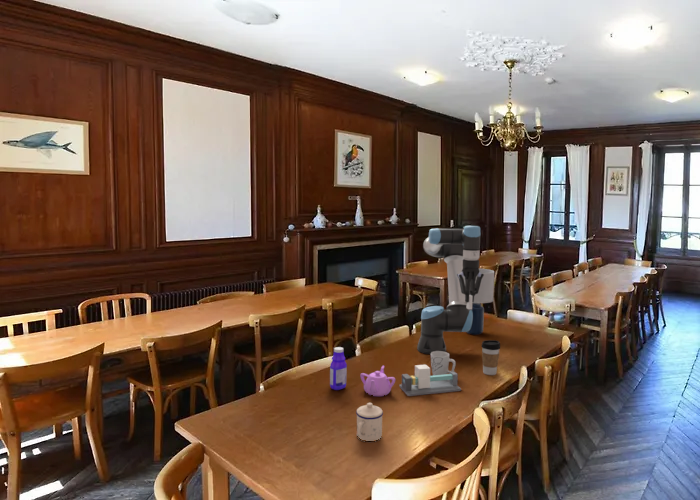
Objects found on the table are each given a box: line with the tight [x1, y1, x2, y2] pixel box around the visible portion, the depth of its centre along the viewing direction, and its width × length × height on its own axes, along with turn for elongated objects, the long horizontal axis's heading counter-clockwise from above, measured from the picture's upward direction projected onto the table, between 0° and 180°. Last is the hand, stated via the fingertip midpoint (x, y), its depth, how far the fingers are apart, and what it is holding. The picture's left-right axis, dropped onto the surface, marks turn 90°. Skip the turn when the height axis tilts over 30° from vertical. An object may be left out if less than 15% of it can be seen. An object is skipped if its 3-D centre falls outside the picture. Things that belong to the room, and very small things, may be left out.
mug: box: [430, 351, 457, 376], centre depth 219 cm, size 11×8×10 cm
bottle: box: [329, 346, 348, 391], centre depth 204 cm, size 7×6×17 cm
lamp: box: [464, 267, 495, 336], centre depth 287 cm, size 20×20×39 cm
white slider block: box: [414, 364, 431, 389], centre depth 203 cm, size 5×5×8 cm
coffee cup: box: [481, 339, 501, 376], centre depth 223 cm, size 8×8×15 cm
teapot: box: [359, 365, 396, 397], centre depth 200 cm, size 12×14×9 cm
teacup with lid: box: [355, 402, 384, 441], centre depth 161 cm, size 12×9×12 cm
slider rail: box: [399, 371, 462, 397], centre depth 204 cm, size 10×24×6 cm, turn 104°
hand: (469, 308), depth 225 cm, fingers closed
